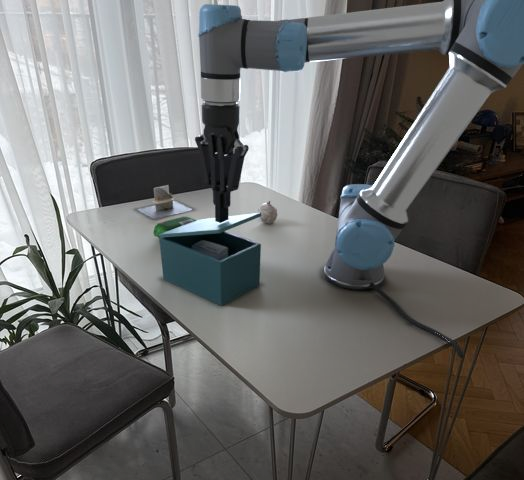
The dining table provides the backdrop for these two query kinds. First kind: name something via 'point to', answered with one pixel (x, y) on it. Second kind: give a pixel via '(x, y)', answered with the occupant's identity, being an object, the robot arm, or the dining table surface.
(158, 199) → the architectural model
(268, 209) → the garlic bulb
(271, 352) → the dining table surface
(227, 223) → the lunchbox lid
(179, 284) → the box
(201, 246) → the medicine box
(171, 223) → the snack package
